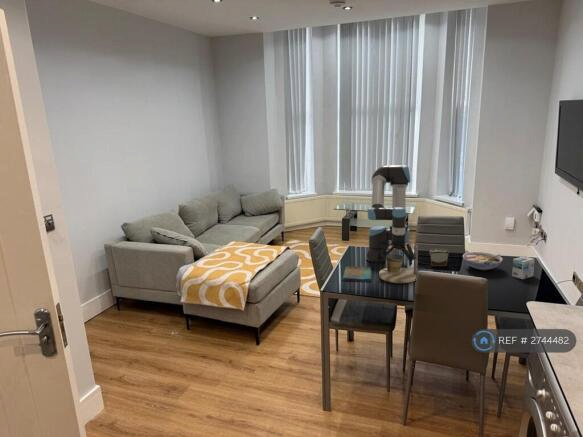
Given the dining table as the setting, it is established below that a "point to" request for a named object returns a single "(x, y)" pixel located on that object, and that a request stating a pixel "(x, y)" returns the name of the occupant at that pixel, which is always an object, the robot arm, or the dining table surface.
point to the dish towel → (357, 274)
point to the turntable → (401, 272)
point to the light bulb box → (523, 267)
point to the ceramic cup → (394, 263)
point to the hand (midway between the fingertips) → (398, 268)
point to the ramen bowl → (482, 260)
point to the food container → (439, 257)
